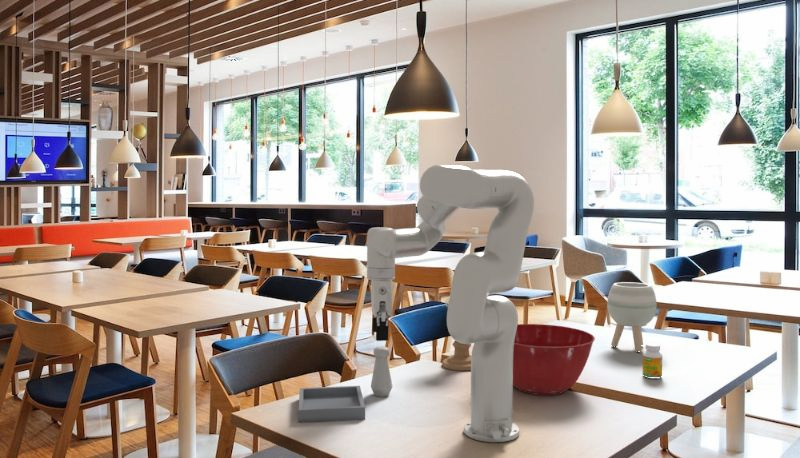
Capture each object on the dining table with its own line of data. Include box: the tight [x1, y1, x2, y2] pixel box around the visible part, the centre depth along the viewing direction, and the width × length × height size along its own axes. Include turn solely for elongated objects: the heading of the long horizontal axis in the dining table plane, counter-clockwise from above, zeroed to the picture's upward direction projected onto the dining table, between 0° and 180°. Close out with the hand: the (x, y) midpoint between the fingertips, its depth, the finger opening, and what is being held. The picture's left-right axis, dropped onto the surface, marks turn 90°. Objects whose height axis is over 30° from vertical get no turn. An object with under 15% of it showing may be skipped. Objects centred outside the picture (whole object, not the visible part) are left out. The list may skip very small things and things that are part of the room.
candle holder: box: [441, 300, 472, 372], centre depth 214 cm, size 12×12×20 cm
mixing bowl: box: [513, 323, 596, 396], centre depth 190 cm, size 28×28×16 cm
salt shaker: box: [370, 345, 393, 398], centre depth 185 cm, size 6×6×13 cm
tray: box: [298, 385, 366, 423], centre depth 173 cm, size 18×16×3 cm
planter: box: [606, 281, 658, 352], centre depth 236 cm, size 16×16×22 cm
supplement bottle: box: [642, 342, 663, 377], centre depth 201 cm, size 5×5×10 cm
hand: (380, 336), depth 185 cm, fingers open, 9 cm apart
